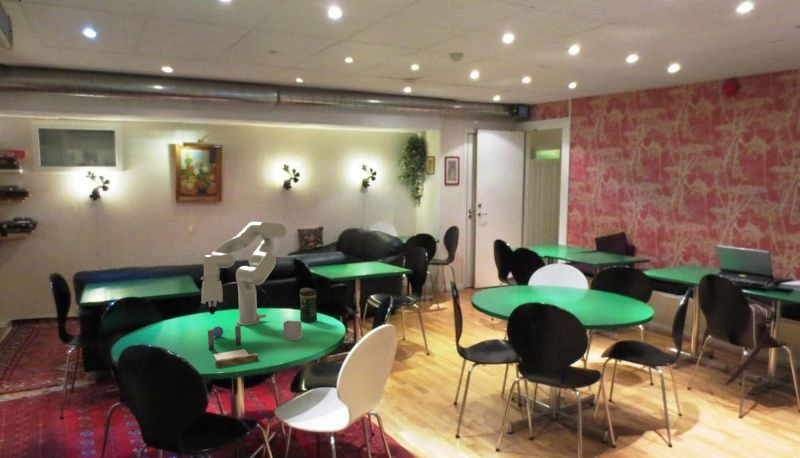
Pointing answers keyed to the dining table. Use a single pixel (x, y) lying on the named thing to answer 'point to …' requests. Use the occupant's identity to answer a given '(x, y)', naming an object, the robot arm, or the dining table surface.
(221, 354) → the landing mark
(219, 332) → the ball
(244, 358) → the stopper wall
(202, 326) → the dining table surface
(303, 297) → the coffee jar
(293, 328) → the medicine box
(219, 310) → the dining table surface
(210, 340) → the post
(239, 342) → the post
